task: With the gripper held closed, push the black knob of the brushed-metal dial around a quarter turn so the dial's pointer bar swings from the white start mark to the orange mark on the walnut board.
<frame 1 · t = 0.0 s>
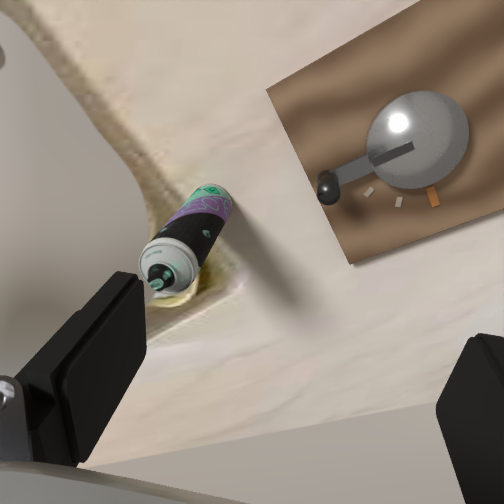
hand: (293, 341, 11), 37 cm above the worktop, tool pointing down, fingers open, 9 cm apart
board: (409, 136, 42), on the worktop
dial: (389, 158, 39), point 5 cm above the worktop, hinge at 0.0°
spray can: (212, 202, 50), on the worktop
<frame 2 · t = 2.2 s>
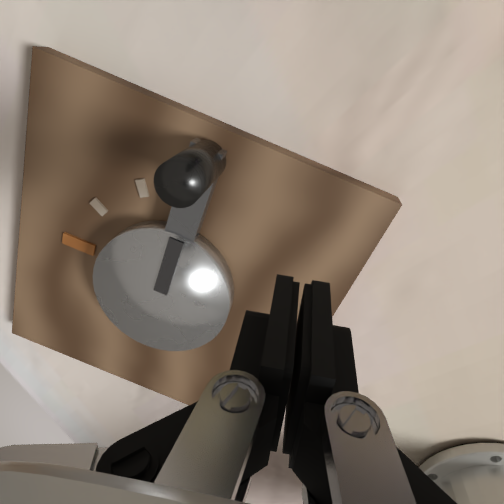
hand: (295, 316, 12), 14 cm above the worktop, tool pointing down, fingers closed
board: (176, 271, 29), on the worktop
dial: (164, 268, 24), point 5 cm above the worktop, hinge at 0.0°
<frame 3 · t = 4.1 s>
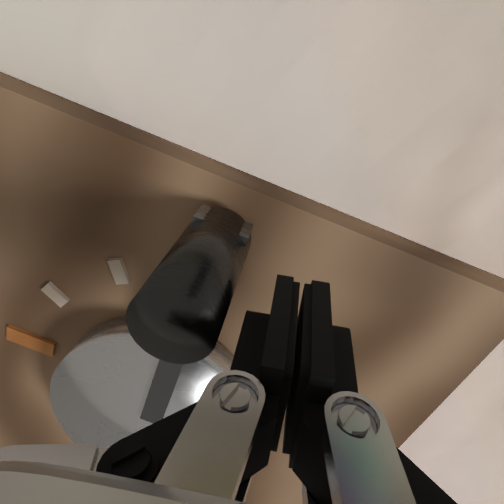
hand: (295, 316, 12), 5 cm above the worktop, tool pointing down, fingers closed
board: (174, 369, 21), on the worktop
dial: (154, 403, 15), point 5 cm above the worktop, hinge at 0.1°, touching gripper
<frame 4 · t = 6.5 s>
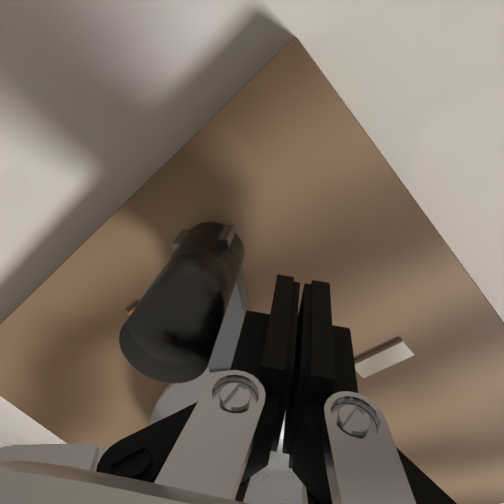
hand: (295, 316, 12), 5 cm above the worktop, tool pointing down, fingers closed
board: (261, 392, 21), on the worktop
dial: (234, 429, 15), point 5 cm above the worktop, hinge at 58.2°, touching gripper
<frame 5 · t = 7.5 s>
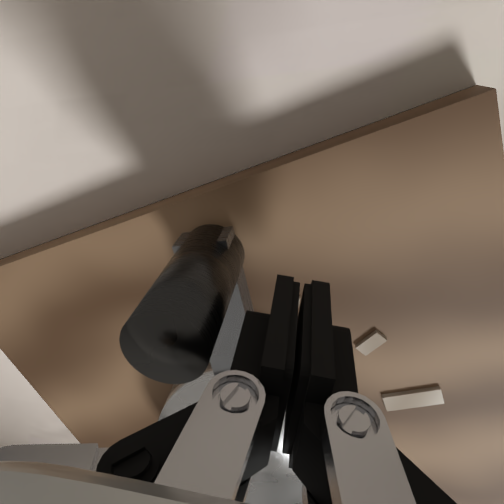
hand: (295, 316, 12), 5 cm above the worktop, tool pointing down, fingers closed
board: (267, 395, 20), on the worktop
dial: (240, 432, 15), point 5 cm above the worktop, hinge at 79.7°, touching gripper
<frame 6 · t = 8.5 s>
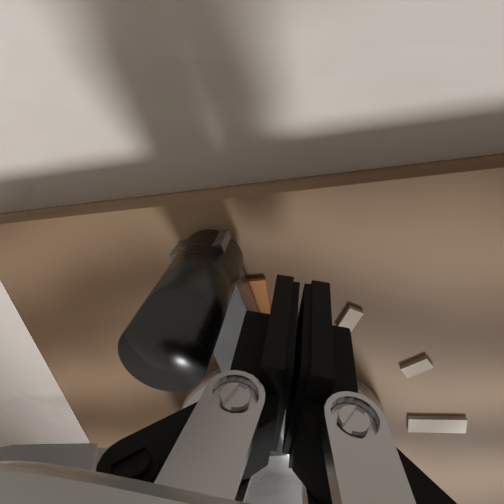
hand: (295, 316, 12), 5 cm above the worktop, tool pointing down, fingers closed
board: (284, 396, 20), on the worktop
dial: (255, 435, 15), point 5 cm above the worktop, hinge at 97.7°, touching gripper
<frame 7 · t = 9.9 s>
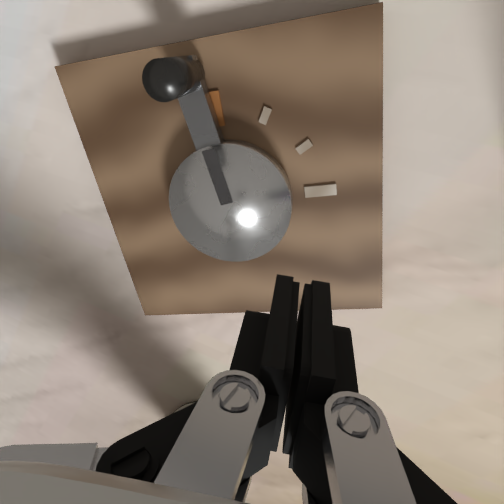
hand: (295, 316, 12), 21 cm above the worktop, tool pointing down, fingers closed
board: (237, 192, 33), on the worktop
dial: (212, 175, 28), point 5 cm above the worktop, hinge at 97.9°
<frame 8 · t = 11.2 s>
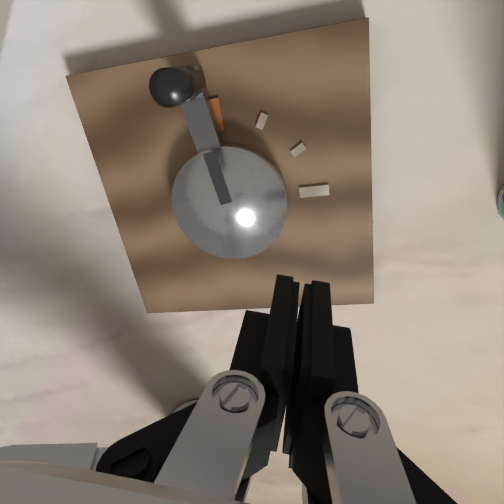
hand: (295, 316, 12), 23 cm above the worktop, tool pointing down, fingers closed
board: (235, 193, 35), on the worktop
dial: (212, 176, 30), point 5 cm above the worktop, hinge at 97.9°
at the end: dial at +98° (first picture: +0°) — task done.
